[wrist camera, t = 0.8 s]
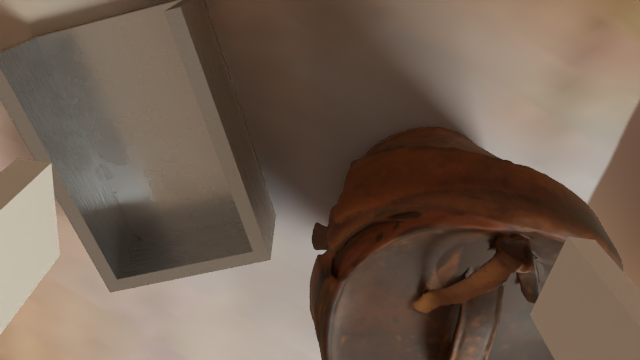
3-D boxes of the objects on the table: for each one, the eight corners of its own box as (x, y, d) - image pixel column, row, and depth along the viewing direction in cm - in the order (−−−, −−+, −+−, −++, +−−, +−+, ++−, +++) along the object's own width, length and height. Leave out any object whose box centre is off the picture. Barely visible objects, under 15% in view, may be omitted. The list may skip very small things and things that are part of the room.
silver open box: (30, 37, 34) (-22, 59, 29) (201, -8, 33) (180, 7, 28) (135, 245, 42) (110, 292, 37) (275, 215, 41) (270, 259, 36)
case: (484, 31, 34) (624, 135, 18) (558, 240, 43) (698, 433, 27) (262, 141, 38) (222, 303, 22) (371, 312, 47) (397, 517, 31)
